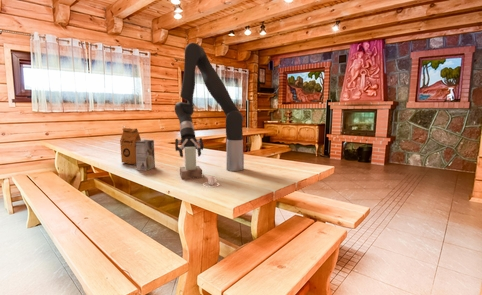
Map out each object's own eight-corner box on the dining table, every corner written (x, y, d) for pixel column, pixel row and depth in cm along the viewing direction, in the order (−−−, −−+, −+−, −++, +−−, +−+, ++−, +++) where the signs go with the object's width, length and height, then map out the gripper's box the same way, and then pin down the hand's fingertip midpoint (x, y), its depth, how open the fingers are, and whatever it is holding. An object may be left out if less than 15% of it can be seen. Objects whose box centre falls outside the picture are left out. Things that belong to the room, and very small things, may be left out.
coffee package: (133, 165, 158) (131, 129, 155) (119, 163, 163) (116, 128, 160) (146, 162, 167) (144, 127, 163) (132, 160, 172) (130, 127, 169)
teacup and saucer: (211, 181, 129) (211, 173, 128) (224, 184, 124) (224, 175, 124) (198, 185, 122) (198, 177, 121) (212, 189, 117) (211, 180, 116)
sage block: (194, 167, 139) (194, 146, 137) (196, 169, 134) (195, 147, 132) (185, 167, 137) (184, 146, 136) (186, 170, 133) (185, 148, 131)
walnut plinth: (198, 173, 143) (198, 165, 142) (202, 177, 133) (202, 170, 133) (179, 174, 139) (179, 167, 139) (182, 179, 130) (181, 171, 129)
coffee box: (145, 166, 157) (144, 139, 154) (155, 167, 156) (154, 140, 153) (136, 170, 148) (134, 141, 145) (146, 170, 147) (145, 142, 144)
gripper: (174, 126, 137) (176, 152, 128) (201, 126, 142) (205, 151, 133) (173, 136, 143) (176, 161, 134) (199, 135, 148) (203, 159, 139)
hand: (190, 156), depth 133 cm, fingers open, 8 cm apart
